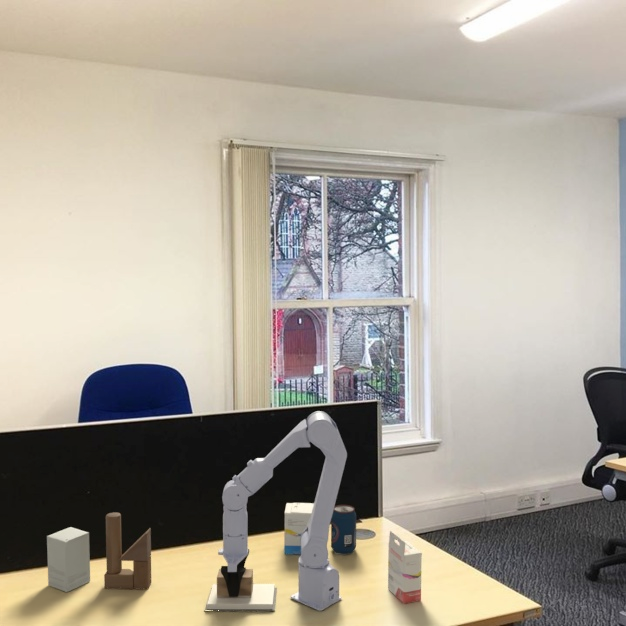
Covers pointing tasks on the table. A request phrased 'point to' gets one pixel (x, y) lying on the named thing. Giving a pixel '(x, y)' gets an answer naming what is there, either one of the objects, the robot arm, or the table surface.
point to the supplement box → (68, 559)
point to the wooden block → (126, 558)
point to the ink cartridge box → (404, 570)
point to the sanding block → (245, 585)
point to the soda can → (343, 529)
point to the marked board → (245, 600)
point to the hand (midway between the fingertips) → (235, 588)
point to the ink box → (295, 525)
